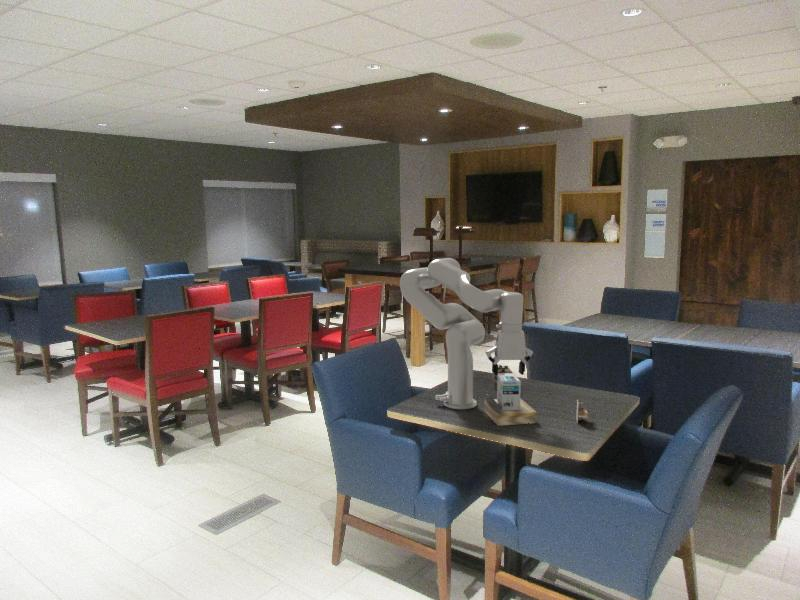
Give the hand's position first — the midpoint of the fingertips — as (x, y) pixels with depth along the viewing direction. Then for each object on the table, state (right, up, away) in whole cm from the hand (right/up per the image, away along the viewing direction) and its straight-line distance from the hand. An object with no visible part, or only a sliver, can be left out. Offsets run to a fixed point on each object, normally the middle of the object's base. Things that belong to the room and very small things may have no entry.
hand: (508, 374), depth 209 cm
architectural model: (+25, -17, -3) cm, 30 cm away
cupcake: (+5, -11, +35) cm, 36 cm away
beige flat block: (+1, -16, +2) cm, 16 cm away
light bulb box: (0, -12, +1) cm, 12 cm away
